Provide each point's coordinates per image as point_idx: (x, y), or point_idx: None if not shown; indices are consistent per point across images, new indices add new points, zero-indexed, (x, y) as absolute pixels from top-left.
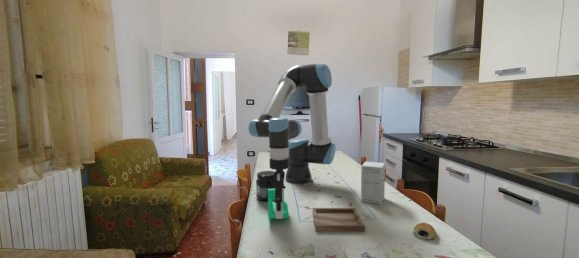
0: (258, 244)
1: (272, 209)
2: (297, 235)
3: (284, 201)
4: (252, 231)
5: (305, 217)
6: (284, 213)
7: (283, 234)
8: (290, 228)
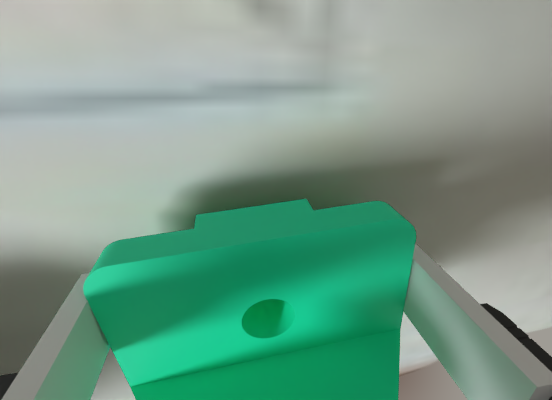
0: (544, 289)
1: (310, 347)
2: (543, 104)
3: (85, 295)
4: (420, 337)
5: (242, 18)
6: (409, 250)
7: (498, 195)
8: (436, 158)
